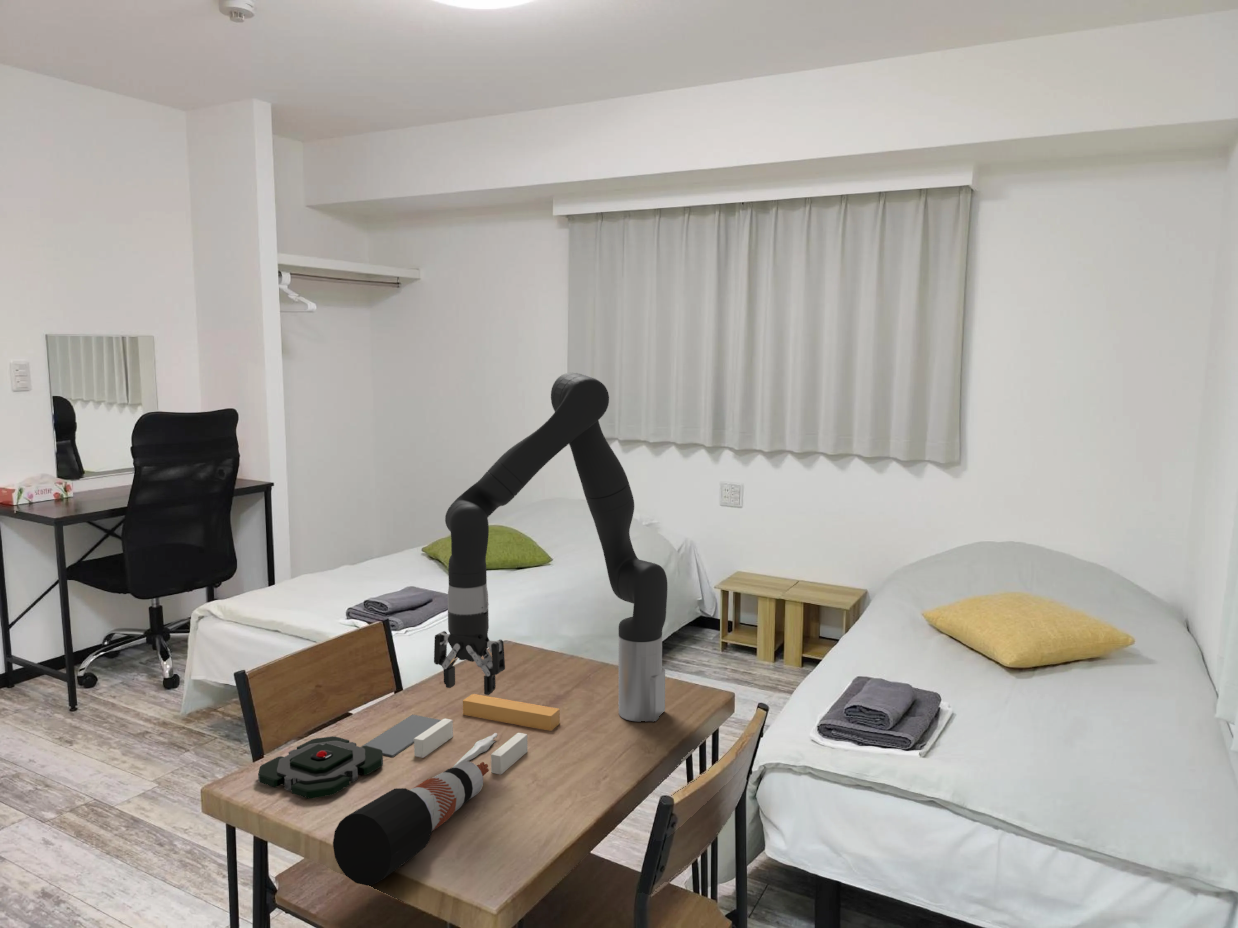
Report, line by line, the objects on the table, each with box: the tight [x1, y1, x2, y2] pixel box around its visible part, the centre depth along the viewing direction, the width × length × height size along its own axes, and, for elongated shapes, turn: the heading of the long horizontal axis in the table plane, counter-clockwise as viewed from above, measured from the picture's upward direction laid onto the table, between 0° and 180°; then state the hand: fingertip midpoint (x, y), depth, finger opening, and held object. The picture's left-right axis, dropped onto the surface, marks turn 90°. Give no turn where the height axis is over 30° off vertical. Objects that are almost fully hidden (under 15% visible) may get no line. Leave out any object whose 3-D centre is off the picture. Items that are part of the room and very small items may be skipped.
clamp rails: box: [413, 718, 529, 775], centre depth 163 cm, size 19×10×4 cm, turn 67°
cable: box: [332, 760, 490, 886], centre depth 137 cm, size 10×34×10 cm, turn 156°
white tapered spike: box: [452, 732, 498, 767], centre depth 163 cm, size 15×3×2 cm, turn 155°
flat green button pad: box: [257, 735, 384, 799], centre depth 156 cm, size 18×18×5 cm
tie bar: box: [462, 693, 561, 732], centre depth 179 cm, size 21×4×4 cm, turn 67°
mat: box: [360, 713, 442, 758], centre depth 172 cm, size 8×17×1 cm, turn 157°
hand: (469, 689), depth 162 cm, fingers open, 8 cm apart
